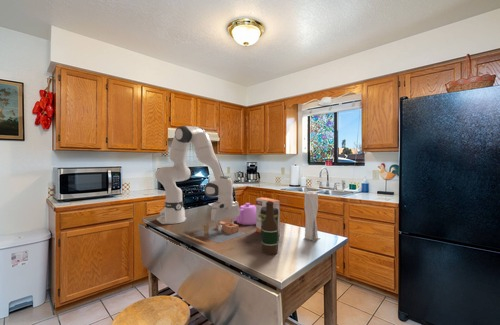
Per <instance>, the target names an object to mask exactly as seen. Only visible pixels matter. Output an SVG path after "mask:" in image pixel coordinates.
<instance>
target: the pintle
mask: <svg viewBox="0 0 500 325" xmlns="http://www.w3.org/2000/svg"><path fill="white" fill-rule="evenodd" d="M218 234H219V235H220V234H222V225H218Z"/></svg>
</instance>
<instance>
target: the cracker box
mask: <svg viewBox="0 0 500 325" xmlns="http://www.w3.org/2000/svg"><path fill="white" fill-rule="evenodd" d="M269 201H271V202H273V203H274V204H273V208H277V209H278V212H279V216H278V233H279V237H280V234H281V231H280V230H281V229H280V228H281V224H280V223H281V220H280V214H281V212H280V207H281V206H280V204H281V202H280V200H278V199H274V198H268V197H263V196H262V197H257V198H256V199H255V206H256V224H255V230H256V232H258V233H260V234H261V208H262V207H266V206H267V205H266V202H269Z"/></svg>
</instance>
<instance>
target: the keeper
mask: <svg viewBox="0 0 500 325" xmlns="http://www.w3.org/2000/svg"><path fill="white" fill-rule="evenodd" d="M202 228H203V230H204V237H209V229H210V228H209V224H202ZM204 237H203V238H204Z"/></svg>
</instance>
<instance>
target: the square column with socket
mask: <svg viewBox="0 0 500 325" xmlns="http://www.w3.org/2000/svg"><path fill="white" fill-rule="evenodd" d="M220 224H221V225H222V230H223V231H224V232H226V233H229V234H233V233H236V232H239V229H240V227H239V225H240V224H236V223H234V224H233V223H231V224H230V222H225V221H223V220H221V222H220ZM215 227H216V228H217V229H218V224H217V222H215Z"/></svg>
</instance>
